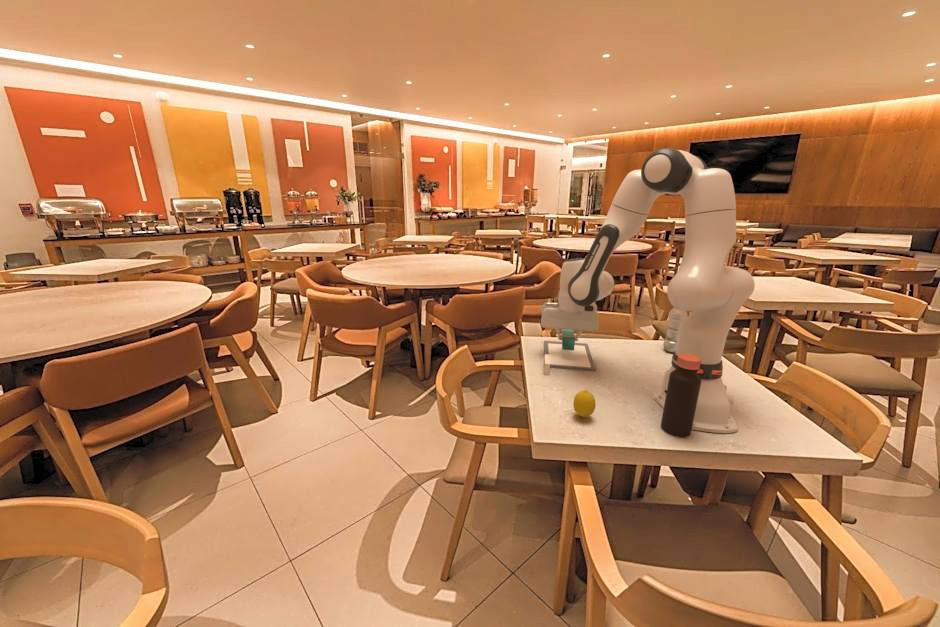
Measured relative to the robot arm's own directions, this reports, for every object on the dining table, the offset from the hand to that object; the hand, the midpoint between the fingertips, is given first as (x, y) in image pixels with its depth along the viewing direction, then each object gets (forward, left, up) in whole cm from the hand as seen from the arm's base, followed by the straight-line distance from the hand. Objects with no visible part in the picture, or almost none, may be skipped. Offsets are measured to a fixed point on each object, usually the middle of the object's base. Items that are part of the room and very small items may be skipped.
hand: (567, 340), depth 137 cm
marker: (0, 0, -2) cm, 2 cm away
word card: (-13, +8, -7) cm, 16 cm away
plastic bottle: (+13, -40, -7) cm, 43 cm away
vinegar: (-43, -24, -7) cm, 49 cm away
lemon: (-41, -1, -7) cm, 42 cm away
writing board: (+1, 0, -7) cm, 7 cm away
